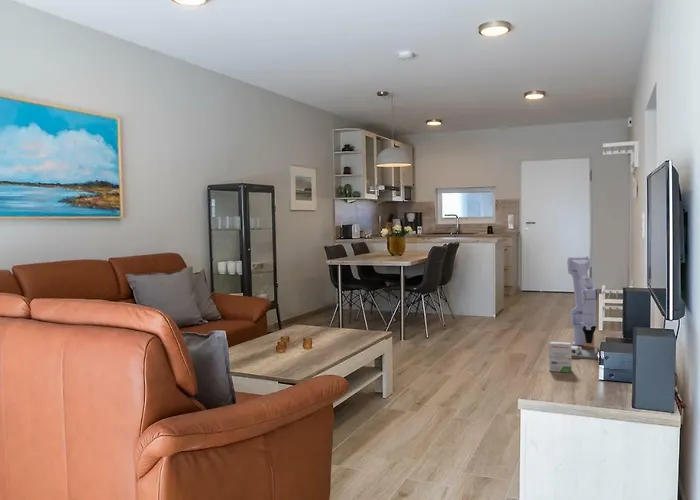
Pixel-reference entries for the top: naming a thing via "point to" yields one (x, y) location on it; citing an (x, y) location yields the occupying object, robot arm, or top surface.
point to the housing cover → (574, 349)
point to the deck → (585, 354)
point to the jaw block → (590, 343)
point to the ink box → (560, 357)
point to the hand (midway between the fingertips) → (589, 342)
